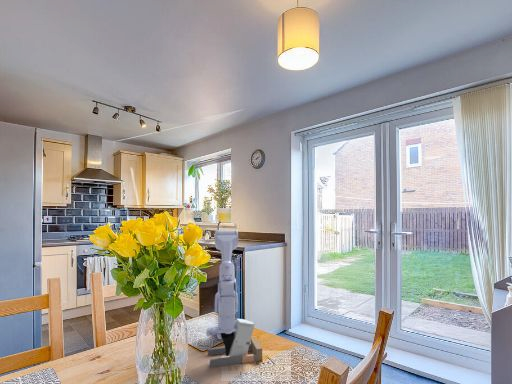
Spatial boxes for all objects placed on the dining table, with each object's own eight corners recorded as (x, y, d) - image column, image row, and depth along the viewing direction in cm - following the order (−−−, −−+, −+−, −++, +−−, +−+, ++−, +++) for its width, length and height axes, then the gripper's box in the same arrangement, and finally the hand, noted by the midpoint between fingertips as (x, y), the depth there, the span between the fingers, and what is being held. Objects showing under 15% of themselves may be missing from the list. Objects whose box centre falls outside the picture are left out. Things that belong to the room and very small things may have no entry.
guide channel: (207, 354, 109) (207, 342, 110) (255, 348, 113) (255, 337, 114) (210, 366, 100) (210, 354, 100) (262, 360, 104) (262, 348, 105)
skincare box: (230, 358, 103) (239, 321, 105) (227, 352, 107) (235, 317, 109) (246, 360, 105) (255, 324, 107) (243, 354, 109) (251, 320, 111)
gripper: (207, 320, 102) (207, 362, 100) (249, 316, 105) (249, 357, 104) (206, 313, 108) (205, 353, 107) (245, 310, 112) (245, 348, 111)
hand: (227, 354), depth 106 cm, fingers closed, pressing on skincare box
